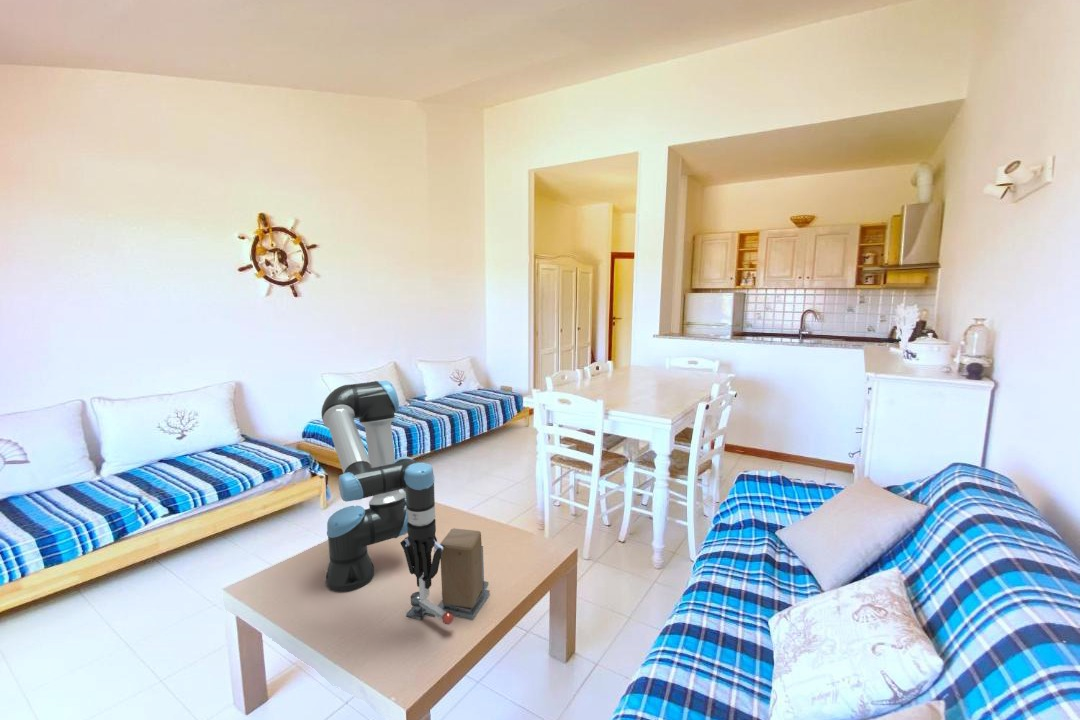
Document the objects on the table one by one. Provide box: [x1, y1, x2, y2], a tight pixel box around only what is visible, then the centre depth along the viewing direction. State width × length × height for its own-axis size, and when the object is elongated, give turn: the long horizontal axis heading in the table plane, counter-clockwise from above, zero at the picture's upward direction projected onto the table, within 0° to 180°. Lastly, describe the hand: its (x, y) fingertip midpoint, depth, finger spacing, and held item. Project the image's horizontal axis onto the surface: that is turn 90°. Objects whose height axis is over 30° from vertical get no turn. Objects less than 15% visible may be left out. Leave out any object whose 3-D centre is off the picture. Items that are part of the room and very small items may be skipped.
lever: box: [410, 591, 455, 625], centre depth 138 cm, size 4×17×3 cm, turn 52°
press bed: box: [405, 545, 491, 621], centre depth 147 cm, size 20×21×14 cm
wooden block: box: [439, 527, 483, 608], centre depth 145 cm, size 10×10×20 cm
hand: (424, 596), depth 135 cm, fingers closed
